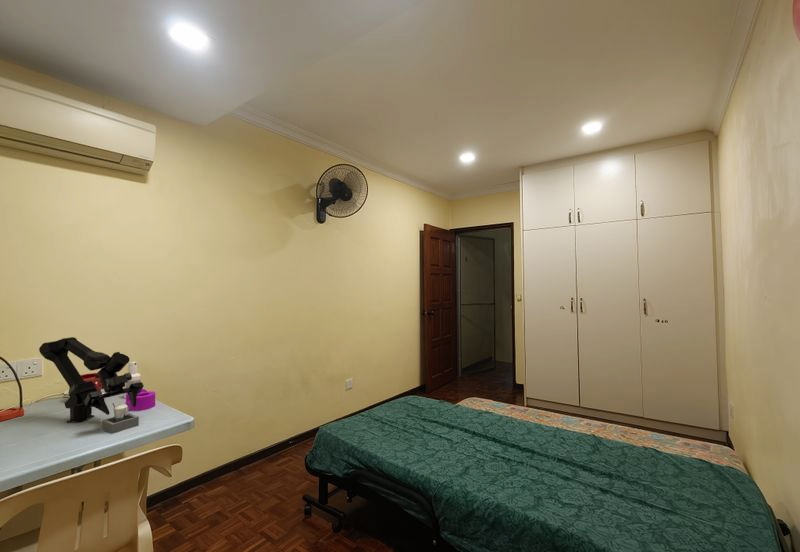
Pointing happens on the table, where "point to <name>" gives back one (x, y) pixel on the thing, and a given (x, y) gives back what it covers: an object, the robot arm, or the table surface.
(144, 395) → the tape dispenser
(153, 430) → the table surface
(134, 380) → the spray bottle
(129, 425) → the collar
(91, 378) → the plant pot
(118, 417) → the milkshake
